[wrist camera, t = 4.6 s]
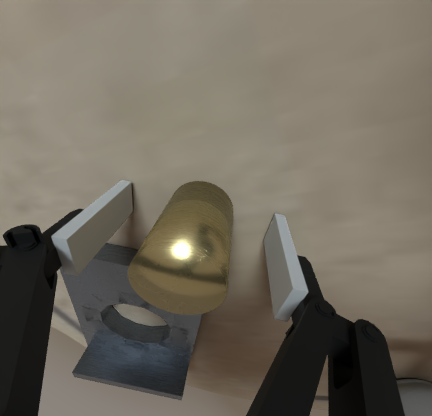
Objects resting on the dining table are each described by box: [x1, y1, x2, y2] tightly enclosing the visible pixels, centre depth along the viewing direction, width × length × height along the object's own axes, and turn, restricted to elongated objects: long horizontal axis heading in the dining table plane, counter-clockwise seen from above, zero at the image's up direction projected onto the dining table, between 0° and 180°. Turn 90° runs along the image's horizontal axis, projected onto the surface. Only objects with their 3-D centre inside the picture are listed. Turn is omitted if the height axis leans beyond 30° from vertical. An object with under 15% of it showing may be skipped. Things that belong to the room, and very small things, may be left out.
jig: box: [59, 243, 202, 400], centre depth 22 cm, size 20×14×5 cm
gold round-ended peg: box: [128, 181, 233, 315], centre depth 13 cm, size 5×5×7 cm
